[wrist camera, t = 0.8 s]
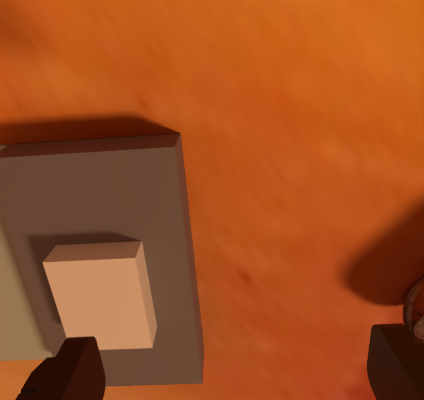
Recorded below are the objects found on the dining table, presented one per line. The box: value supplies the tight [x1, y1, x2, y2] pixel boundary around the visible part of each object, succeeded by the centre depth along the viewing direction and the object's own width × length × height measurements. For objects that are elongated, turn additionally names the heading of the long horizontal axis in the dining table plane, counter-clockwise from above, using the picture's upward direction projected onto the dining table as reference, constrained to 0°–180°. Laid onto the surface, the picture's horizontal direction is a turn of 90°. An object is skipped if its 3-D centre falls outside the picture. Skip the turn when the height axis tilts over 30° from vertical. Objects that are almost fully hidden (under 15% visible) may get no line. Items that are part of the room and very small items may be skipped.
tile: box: [43, 241, 157, 350], centre depth 29 cm, size 9×7×2 cm
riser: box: [0, 133, 204, 386], centre depth 32 cm, size 24×14×4 cm, turn 4°
